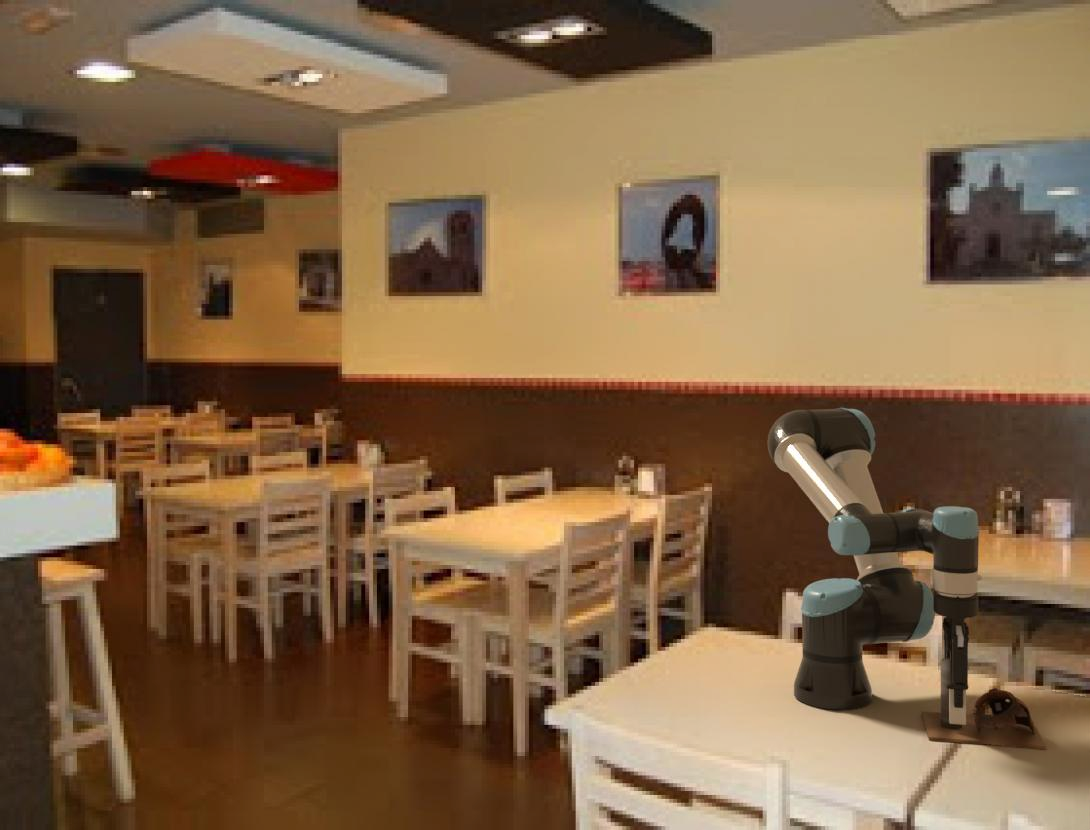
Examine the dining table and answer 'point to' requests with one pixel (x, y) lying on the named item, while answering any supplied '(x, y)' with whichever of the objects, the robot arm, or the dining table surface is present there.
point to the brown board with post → (973, 725)
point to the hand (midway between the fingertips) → (955, 717)
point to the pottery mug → (1002, 711)
